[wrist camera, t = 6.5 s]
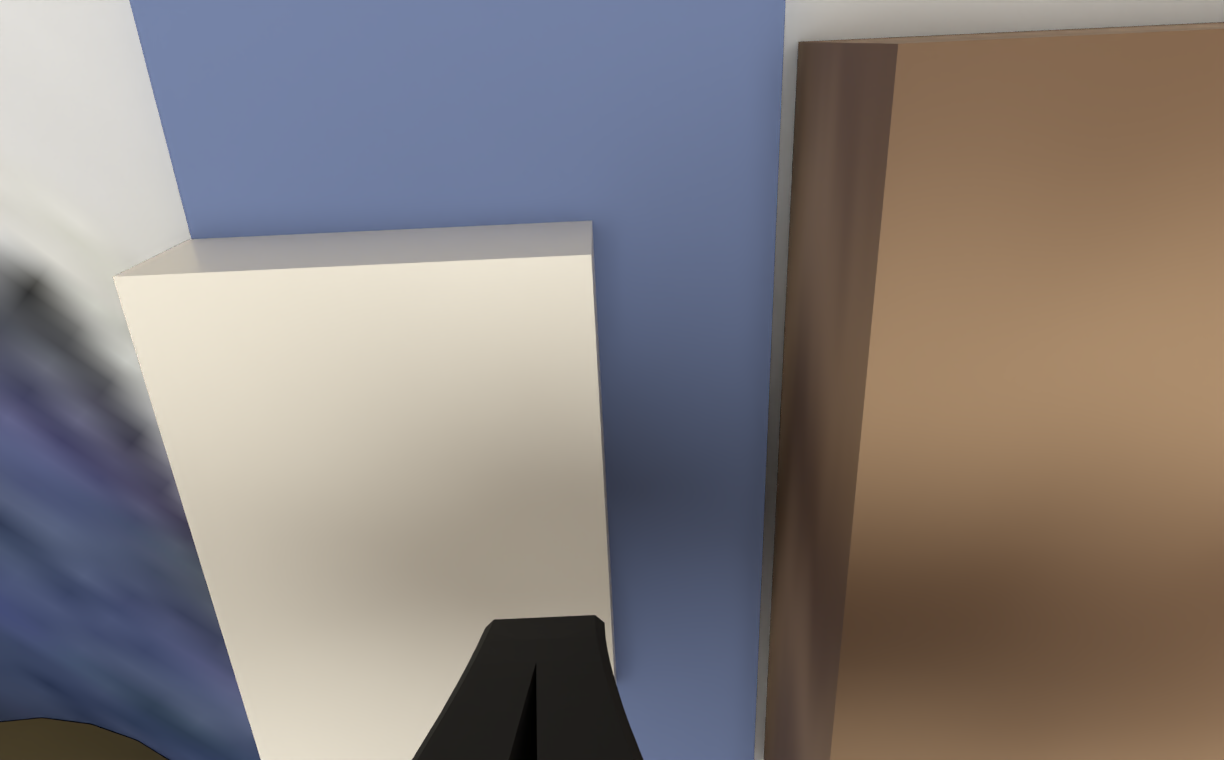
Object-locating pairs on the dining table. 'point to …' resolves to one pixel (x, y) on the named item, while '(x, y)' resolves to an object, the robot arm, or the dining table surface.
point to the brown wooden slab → (1003, 400)
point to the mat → (543, 193)
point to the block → (378, 459)
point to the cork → (67, 742)
